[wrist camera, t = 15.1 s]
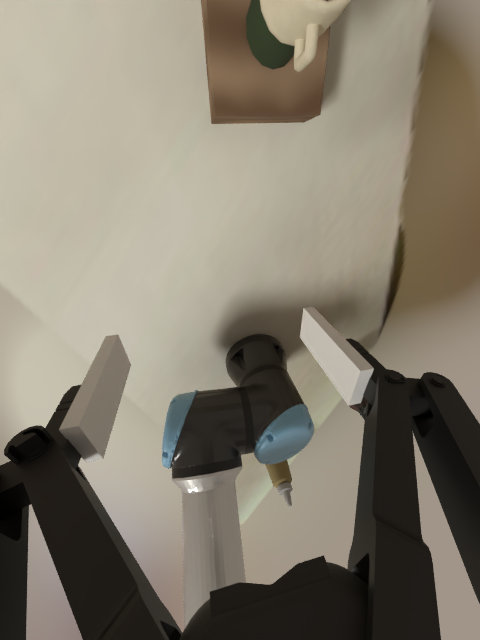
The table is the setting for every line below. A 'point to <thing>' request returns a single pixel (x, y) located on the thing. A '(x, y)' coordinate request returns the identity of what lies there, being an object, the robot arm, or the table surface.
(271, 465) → the squeeze bottle
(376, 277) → the table surface
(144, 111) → the table surface
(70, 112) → the table surface
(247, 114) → the walnut stand
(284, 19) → the character mug
